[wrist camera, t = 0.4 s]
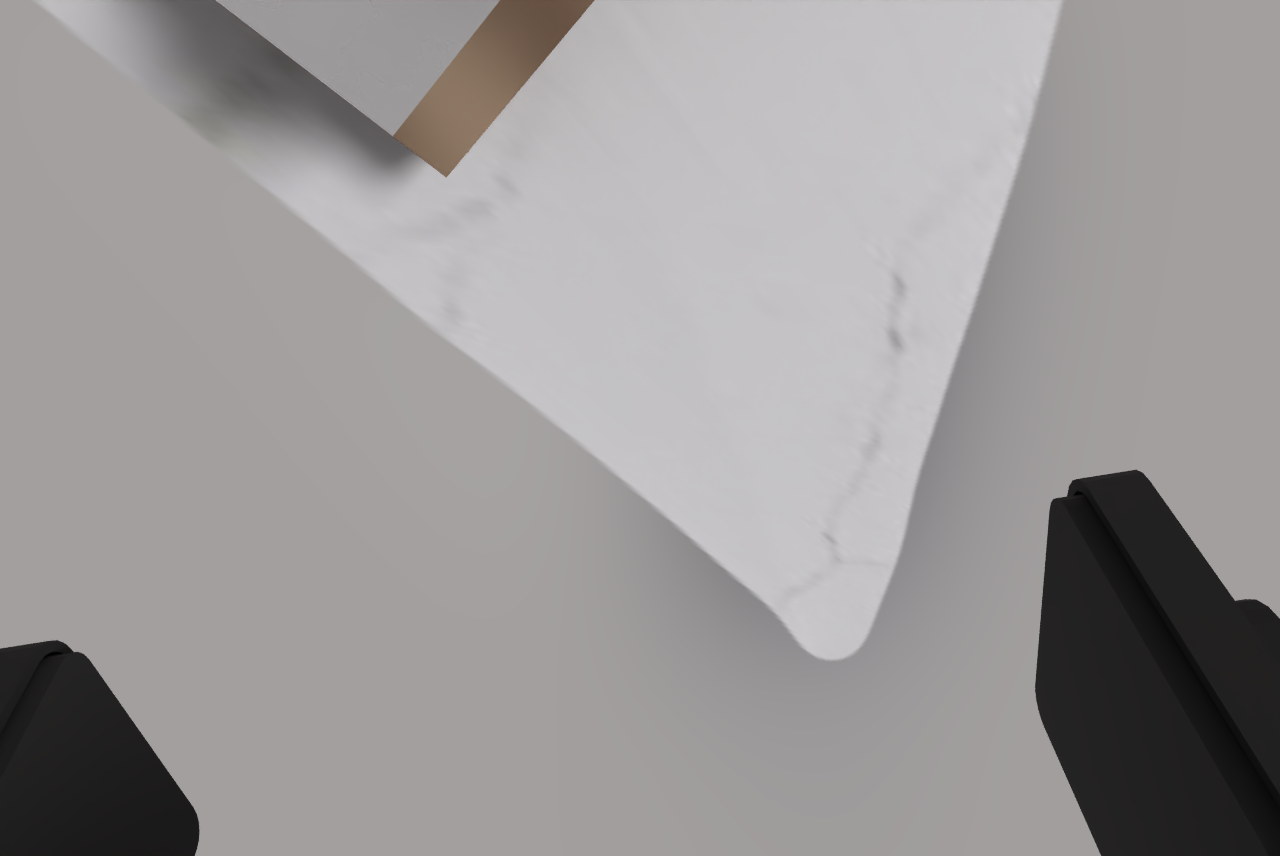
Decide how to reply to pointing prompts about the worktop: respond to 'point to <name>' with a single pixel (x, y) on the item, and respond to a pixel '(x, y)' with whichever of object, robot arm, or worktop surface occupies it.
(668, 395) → the worktop surface
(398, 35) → the button
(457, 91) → the button panel
